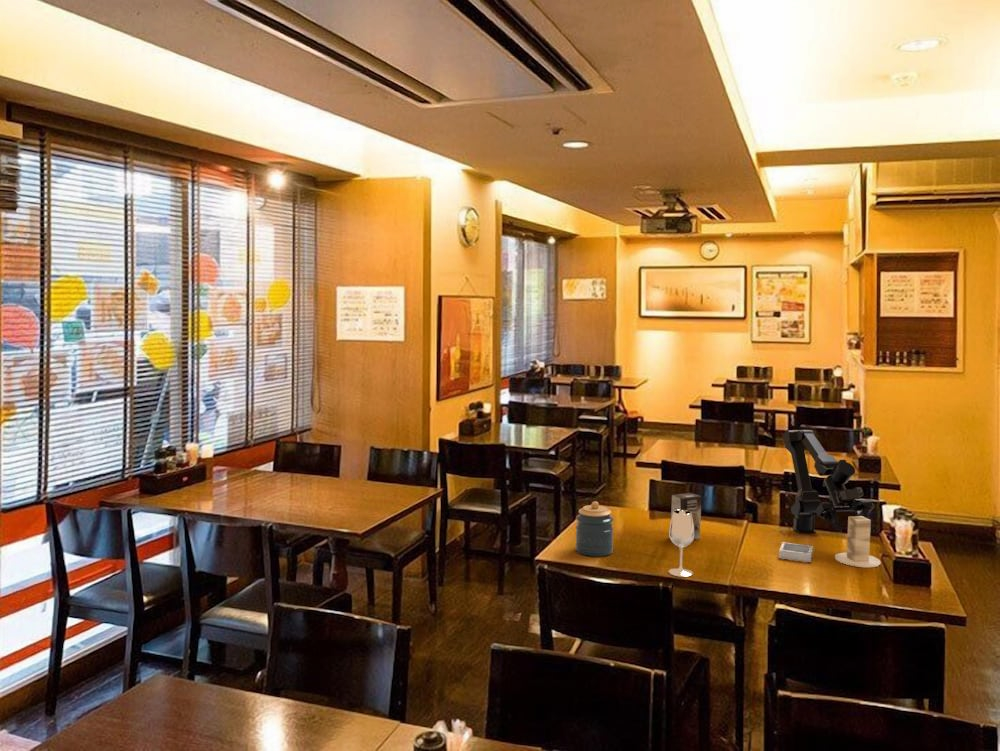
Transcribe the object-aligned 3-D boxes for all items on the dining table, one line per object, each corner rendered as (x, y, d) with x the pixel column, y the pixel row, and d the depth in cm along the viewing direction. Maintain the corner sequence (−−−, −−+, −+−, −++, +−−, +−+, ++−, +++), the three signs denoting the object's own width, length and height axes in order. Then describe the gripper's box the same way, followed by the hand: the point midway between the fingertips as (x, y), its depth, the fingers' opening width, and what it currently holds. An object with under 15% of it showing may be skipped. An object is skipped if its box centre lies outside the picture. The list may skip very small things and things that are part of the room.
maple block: (846, 556, 270) (848, 516, 269) (860, 556, 271) (862, 516, 269) (854, 561, 265) (856, 520, 264) (868, 561, 266) (870, 520, 264)
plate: (867, 553, 275) (867, 552, 275) (888, 567, 261) (888, 565, 261) (827, 554, 275) (827, 552, 275) (847, 567, 261) (847, 566, 261)
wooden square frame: (782, 550, 279) (782, 542, 278) (812, 554, 274) (812, 545, 274) (778, 558, 270) (779, 550, 269) (810, 563, 265) (810, 554, 265)
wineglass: (666, 575, 253) (667, 513, 251) (670, 567, 260) (672, 507, 258) (691, 578, 250) (692, 516, 248) (694, 570, 257) (696, 510, 255)
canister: (620, 551, 277) (621, 501, 275) (598, 559, 268) (599, 508, 266) (590, 543, 286) (591, 495, 284) (567, 551, 276) (568, 501, 275)
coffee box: (681, 542, 287) (682, 498, 286) (669, 537, 293) (670, 494, 292) (700, 539, 292) (702, 495, 290) (689, 534, 297) (690, 491, 296)
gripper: (821, 479, 272) (838, 520, 263) (872, 478, 275) (890, 518, 265) (808, 496, 281) (824, 536, 271) (858, 494, 283) (875, 534, 274)
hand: (853, 531), depth 270 cm, fingers open, 9 cm apart
